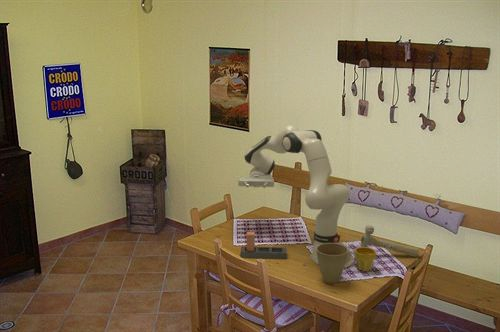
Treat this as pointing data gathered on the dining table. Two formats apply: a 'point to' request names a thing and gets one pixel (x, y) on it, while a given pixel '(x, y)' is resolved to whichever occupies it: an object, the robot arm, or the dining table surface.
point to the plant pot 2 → (365, 258)
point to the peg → (251, 241)
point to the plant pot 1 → (331, 261)
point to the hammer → (386, 243)
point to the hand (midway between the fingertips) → (255, 186)
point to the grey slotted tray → (264, 252)
